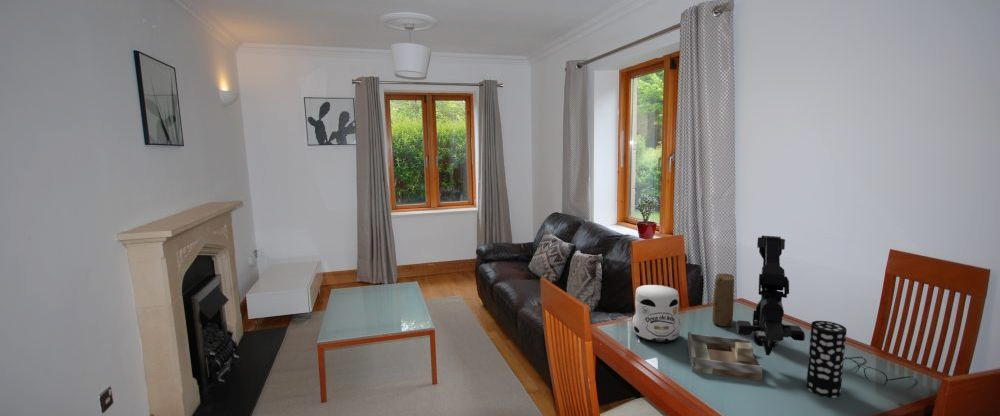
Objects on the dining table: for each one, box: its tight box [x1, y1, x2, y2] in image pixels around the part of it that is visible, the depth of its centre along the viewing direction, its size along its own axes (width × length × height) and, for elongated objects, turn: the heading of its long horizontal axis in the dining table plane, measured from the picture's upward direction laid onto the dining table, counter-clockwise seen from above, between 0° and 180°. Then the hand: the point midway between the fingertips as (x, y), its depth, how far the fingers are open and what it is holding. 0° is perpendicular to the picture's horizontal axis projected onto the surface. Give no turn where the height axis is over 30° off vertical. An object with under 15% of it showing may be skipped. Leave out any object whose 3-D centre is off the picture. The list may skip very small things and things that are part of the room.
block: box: [711, 273, 735, 327], centre depth 184 cm, size 11×8×20 cm
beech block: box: [735, 342, 754, 362], centre depth 151 cm, size 4×4×4 cm
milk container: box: [632, 284, 681, 343], centre depth 173 cm, size 17×17×18 cm
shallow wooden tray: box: [687, 331, 763, 381], centre depth 153 cm, size 20×20×5 cm
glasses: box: [844, 356, 912, 385], centre depth 144 cm, size 14×15×5 cm
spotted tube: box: [805, 320, 847, 399], centre depth 133 cm, size 8×8×20 cm
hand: (767, 354), depth 149 cm, fingers closed
